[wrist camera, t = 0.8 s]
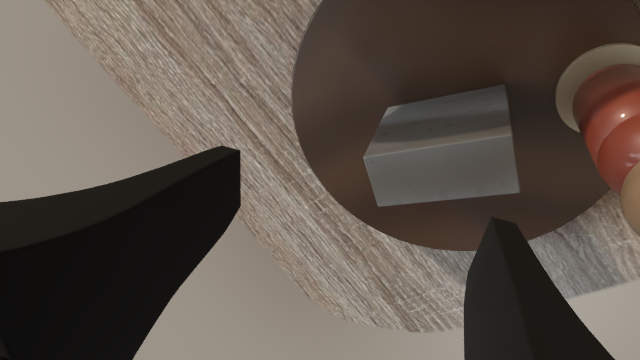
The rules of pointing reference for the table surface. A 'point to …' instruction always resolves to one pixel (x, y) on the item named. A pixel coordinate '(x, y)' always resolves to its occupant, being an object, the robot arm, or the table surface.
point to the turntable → (471, 112)
